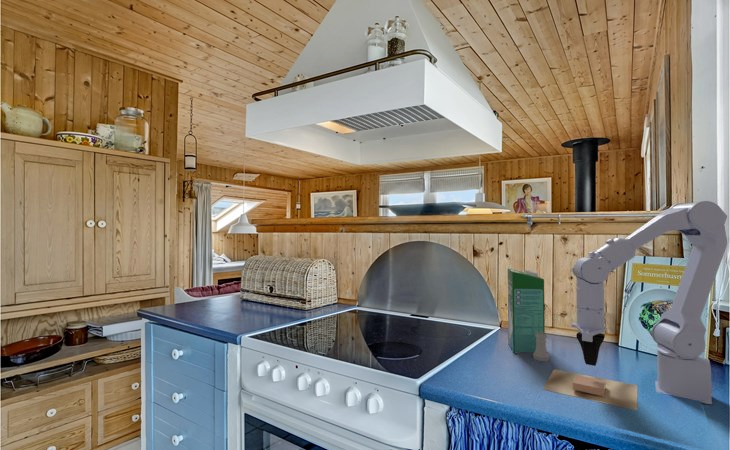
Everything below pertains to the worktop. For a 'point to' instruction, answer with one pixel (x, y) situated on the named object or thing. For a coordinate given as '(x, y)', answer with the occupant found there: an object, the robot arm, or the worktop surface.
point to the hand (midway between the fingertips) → (590, 364)
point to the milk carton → (525, 309)
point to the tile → (589, 385)
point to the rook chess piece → (541, 347)
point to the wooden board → (613, 394)
